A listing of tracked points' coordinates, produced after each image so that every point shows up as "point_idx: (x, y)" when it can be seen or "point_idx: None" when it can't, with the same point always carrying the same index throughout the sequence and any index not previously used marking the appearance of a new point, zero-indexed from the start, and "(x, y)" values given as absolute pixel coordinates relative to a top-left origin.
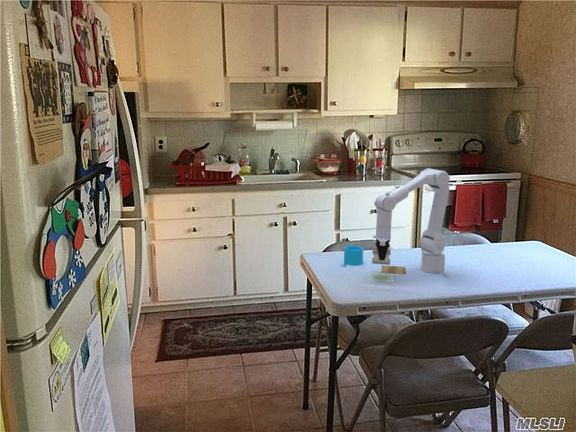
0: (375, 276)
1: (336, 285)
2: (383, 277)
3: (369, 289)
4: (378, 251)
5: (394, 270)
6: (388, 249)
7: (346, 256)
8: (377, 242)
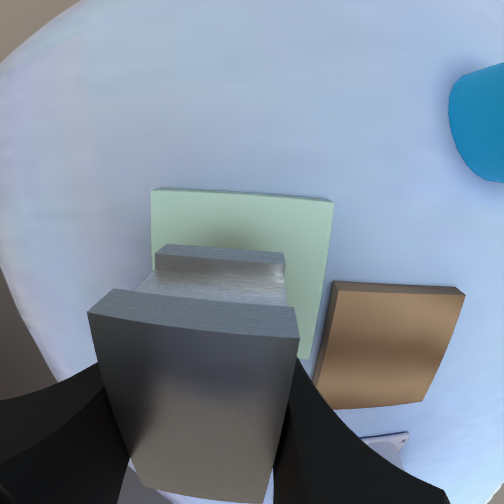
0: (243, 246)
1: (117, 23)
2: None
3: (79, 201)
4: (53, 390)
5: (377, 363)
6: (255, 494)
7: (501, 64)
8: (11, 497)
